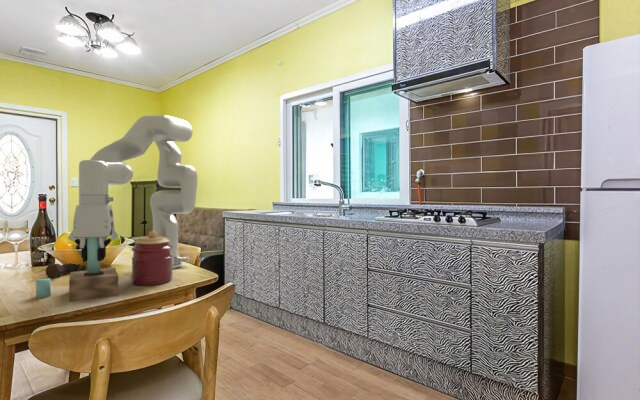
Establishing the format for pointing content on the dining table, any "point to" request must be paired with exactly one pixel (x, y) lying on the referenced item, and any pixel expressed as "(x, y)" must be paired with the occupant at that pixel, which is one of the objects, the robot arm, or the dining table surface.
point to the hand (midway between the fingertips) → (93, 259)
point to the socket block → (93, 284)
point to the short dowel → (43, 288)
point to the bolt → (62, 269)
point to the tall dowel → (93, 255)
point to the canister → (151, 260)
